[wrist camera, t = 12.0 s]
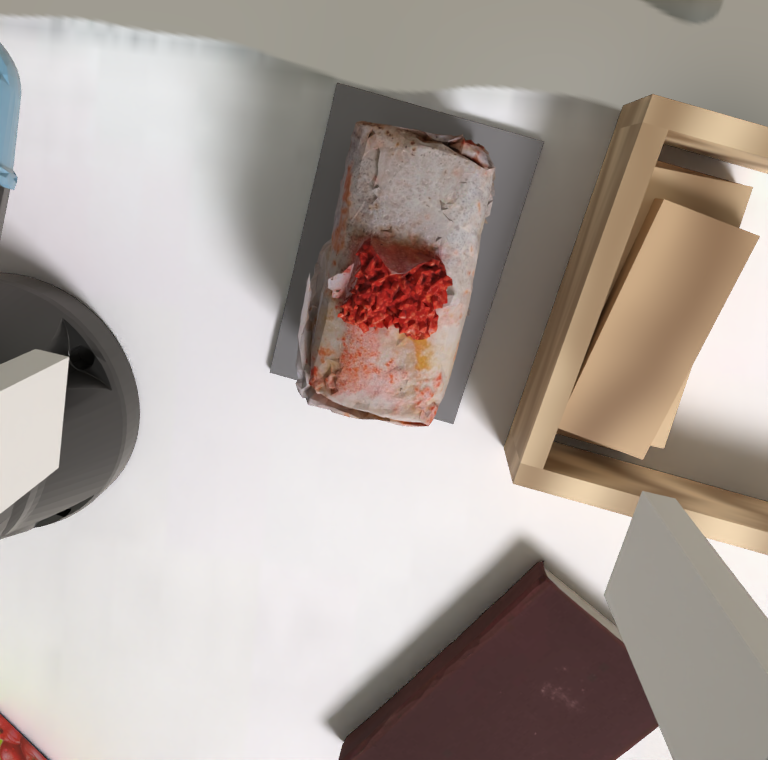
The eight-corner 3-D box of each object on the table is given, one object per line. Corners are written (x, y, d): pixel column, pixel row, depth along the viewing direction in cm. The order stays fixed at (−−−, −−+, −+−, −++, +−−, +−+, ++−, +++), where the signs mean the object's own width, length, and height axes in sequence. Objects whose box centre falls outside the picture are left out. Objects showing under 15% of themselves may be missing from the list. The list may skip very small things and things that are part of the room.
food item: (445, 394, 40) (448, 462, 30) (308, 368, 40) (269, 428, 30) (498, 146, 36) (520, 135, 26) (346, 118, 36) (314, 97, 26)
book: (340, 733, 48) (333, 772, 45) (538, 551, 43) (546, 580, 40) (474, 833, 50) (476, 877, 47) (679, 669, 45) (698, 706, 42)
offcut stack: (535, 419, 40) (547, 449, 36) (629, 155, 36) (657, 152, 31) (638, 448, 40) (663, 481, 36) (744, 188, 36) (788, 190, 31)
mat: (271, 370, 40) (269, 372, 40) (338, 83, 36) (337, 82, 35) (453, 421, 40) (453, 423, 40) (543, 142, 36) (544, 141, 36)
